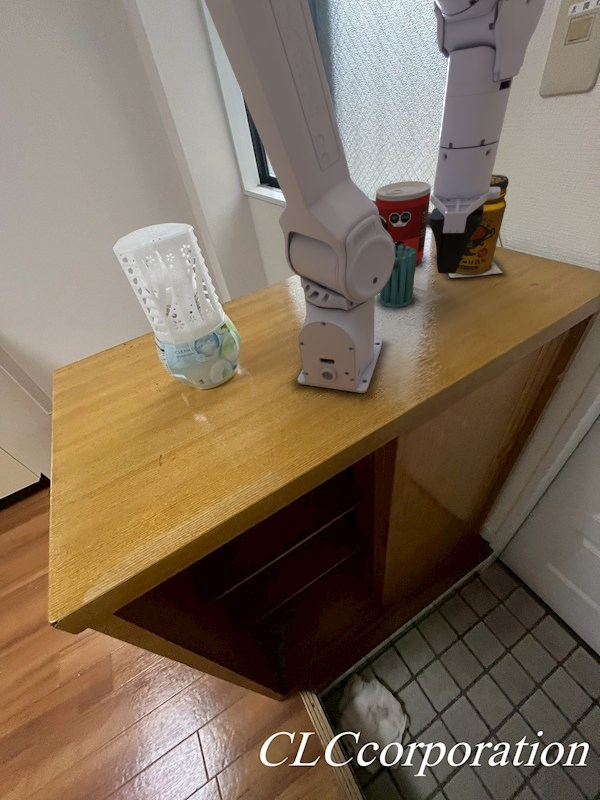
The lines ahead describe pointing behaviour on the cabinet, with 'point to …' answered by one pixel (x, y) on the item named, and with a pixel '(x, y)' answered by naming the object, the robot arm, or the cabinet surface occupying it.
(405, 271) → the pencil holder
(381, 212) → the canned food
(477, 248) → the condiment
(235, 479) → the cabinet surface
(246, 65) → the robot arm
